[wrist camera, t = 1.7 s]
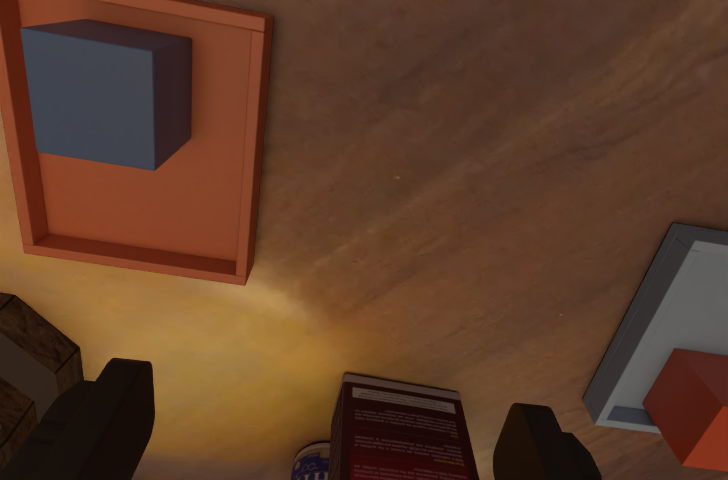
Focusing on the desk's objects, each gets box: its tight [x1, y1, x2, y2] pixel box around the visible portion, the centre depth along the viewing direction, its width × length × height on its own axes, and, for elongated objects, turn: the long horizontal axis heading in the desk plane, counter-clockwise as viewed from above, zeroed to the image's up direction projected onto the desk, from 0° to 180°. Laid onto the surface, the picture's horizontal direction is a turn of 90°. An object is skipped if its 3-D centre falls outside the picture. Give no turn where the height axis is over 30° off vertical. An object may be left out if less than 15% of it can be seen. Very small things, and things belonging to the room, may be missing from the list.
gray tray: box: [583, 223, 728, 434], centre depth 32 cm, size 14×12×2 cm
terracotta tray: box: [0, 0, 274, 286], centre depth 26 cm, size 14×12×2 cm
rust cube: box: [642, 348, 728, 471], centre depth 31 cm, size 5×5×5 cm
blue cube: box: [20, 19, 192, 171], centre depth 22 cm, size 5×5×5 cm
